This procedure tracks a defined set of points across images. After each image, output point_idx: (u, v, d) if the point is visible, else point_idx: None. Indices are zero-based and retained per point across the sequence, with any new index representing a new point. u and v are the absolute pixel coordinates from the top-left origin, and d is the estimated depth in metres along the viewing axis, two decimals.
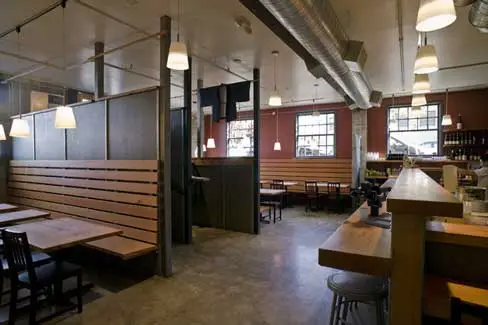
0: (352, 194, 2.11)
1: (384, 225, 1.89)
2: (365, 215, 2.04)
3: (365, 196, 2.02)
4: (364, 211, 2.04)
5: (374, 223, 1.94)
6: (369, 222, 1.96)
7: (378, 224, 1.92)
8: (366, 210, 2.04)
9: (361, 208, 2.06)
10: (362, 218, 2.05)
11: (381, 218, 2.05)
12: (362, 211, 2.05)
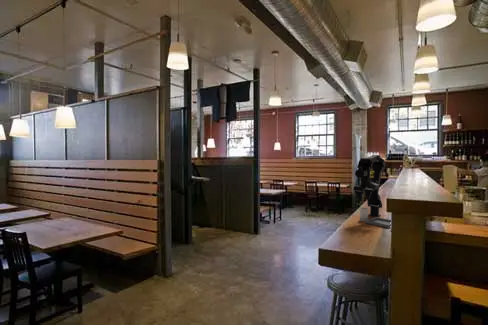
0: None
1: (384, 225, 1.89)
2: (365, 215, 2.04)
3: None
4: (364, 211, 2.04)
5: (374, 223, 1.94)
6: (369, 222, 1.96)
7: (378, 224, 1.92)
8: (366, 210, 2.04)
9: (361, 208, 2.06)
10: (362, 218, 2.05)
11: (381, 218, 2.05)
12: (362, 211, 2.05)
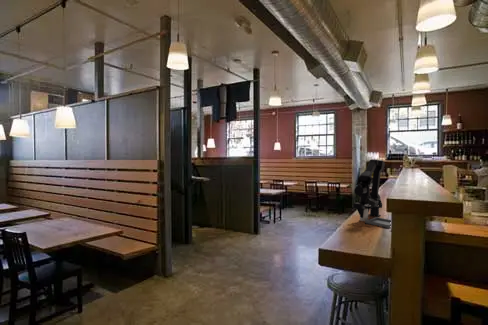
0: None
1: (384, 225, 1.89)
2: (365, 215, 2.04)
3: None
4: (364, 211, 2.04)
5: (374, 223, 1.94)
6: (369, 222, 1.96)
7: (378, 224, 1.92)
8: (366, 210, 2.04)
9: None
10: (362, 218, 2.05)
11: (381, 218, 2.05)
12: None
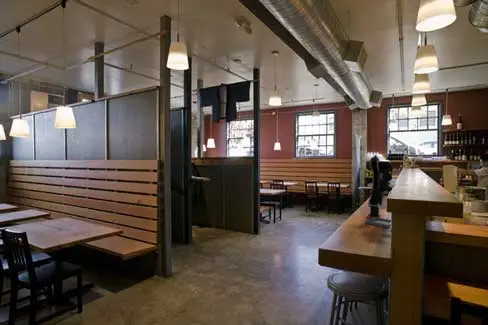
0: None
1: (384, 225, 1.89)
2: (384, 202, 1.95)
3: None
4: (383, 198, 1.95)
5: (374, 223, 1.94)
6: (369, 222, 1.96)
7: (378, 224, 1.92)
8: (385, 197, 1.95)
9: None
10: (381, 206, 1.95)
11: (381, 218, 2.05)
12: None
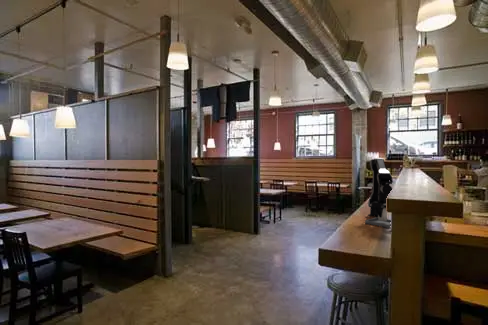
0: None
1: (384, 225, 1.89)
2: (384, 215, 1.95)
3: None
4: (383, 210, 1.95)
5: (374, 223, 1.94)
6: (369, 222, 1.96)
7: (378, 224, 1.92)
8: (385, 209, 1.95)
9: None
10: (381, 218, 1.96)
11: None
12: None
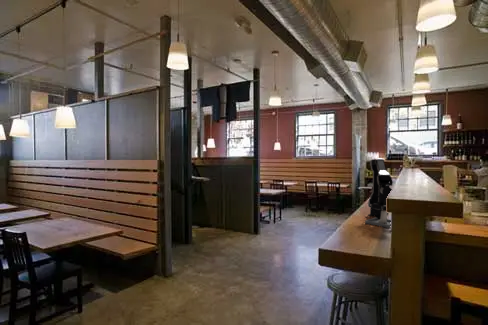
0: None
1: (384, 225, 1.89)
2: (384, 218, 1.95)
3: None
4: (383, 213, 1.95)
5: (374, 223, 1.94)
6: (369, 222, 1.96)
7: (378, 224, 1.92)
8: (385, 212, 1.95)
9: None
10: (381, 221, 1.96)
11: None
12: (381, 213, 1.95)
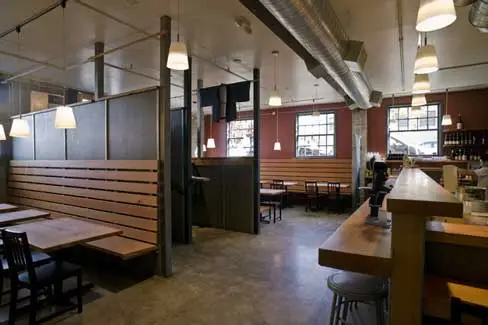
0: None
1: (384, 225, 1.89)
2: (384, 218, 1.95)
3: None
4: (383, 213, 1.95)
5: (374, 223, 1.94)
6: (369, 222, 1.96)
7: (378, 224, 1.92)
8: (385, 212, 1.95)
9: (380, 210, 1.97)
10: (381, 221, 1.96)
11: None
12: (381, 213, 1.95)
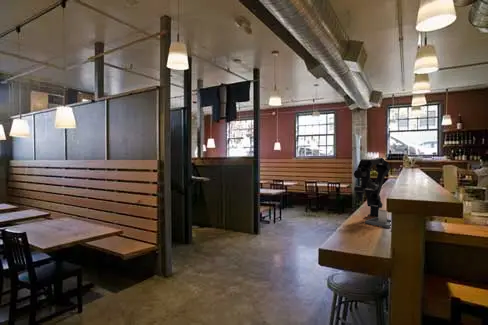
0: None
1: (384, 225, 1.89)
2: (384, 218, 1.95)
3: None
4: (383, 213, 1.95)
5: (374, 223, 1.94)
6: (369, 222, 1.96)
7: (378, 224, 1.92)
8: (385, 212, 1.95)
9: (380, 210, 1.97)
10: (381, 221, 1.96)
11: None
12: (381, 213, 1.95)
